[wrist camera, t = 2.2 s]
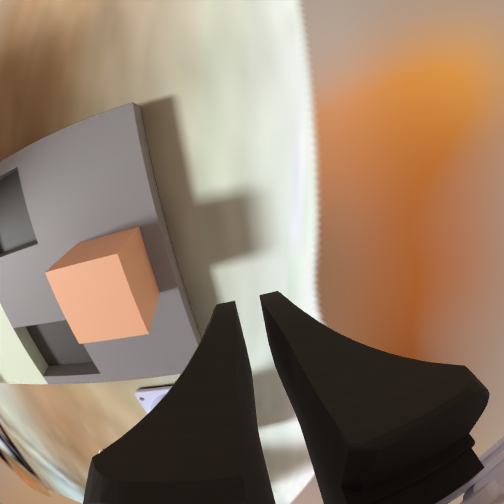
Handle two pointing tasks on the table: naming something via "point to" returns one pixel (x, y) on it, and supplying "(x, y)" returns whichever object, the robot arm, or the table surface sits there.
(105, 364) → the platform
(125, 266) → the block
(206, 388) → the robot arm
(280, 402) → the table surface
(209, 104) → the table surface
